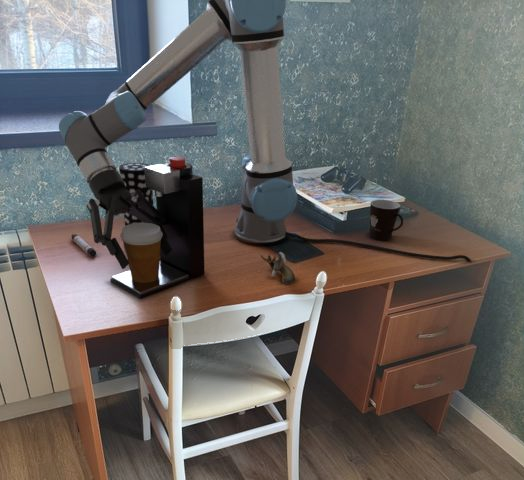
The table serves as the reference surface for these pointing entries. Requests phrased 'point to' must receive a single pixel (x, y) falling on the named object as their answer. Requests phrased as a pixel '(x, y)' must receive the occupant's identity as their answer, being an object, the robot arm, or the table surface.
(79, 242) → the marker
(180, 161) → the button
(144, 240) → the disposable coffee cup
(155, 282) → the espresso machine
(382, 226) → the coffee mug
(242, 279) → the table surface
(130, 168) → the spotted tube
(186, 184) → the tower
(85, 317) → the table surface
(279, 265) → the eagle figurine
